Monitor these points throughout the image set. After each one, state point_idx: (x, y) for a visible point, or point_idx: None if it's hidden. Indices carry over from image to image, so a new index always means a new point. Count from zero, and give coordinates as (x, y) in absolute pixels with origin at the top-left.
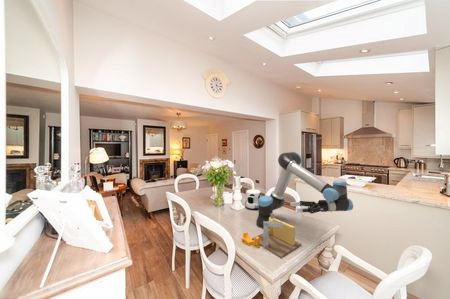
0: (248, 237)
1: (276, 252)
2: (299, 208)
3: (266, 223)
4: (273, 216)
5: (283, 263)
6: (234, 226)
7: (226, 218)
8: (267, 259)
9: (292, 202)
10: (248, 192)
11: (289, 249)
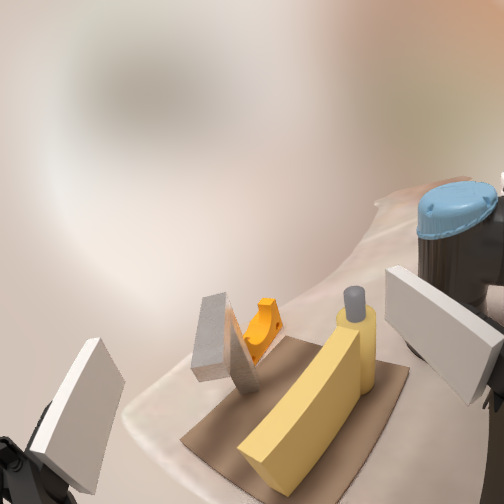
0: (266, 323)
1: (204, 424)
2: (76, 362)
3: (201, 307)
4: (356, 312)
5: (157, 447)
6: (355, 274)
7: (389, 243)
8: (177, 402)
9: (406, 278)
10: (501, 176)
11: (236, 473)
